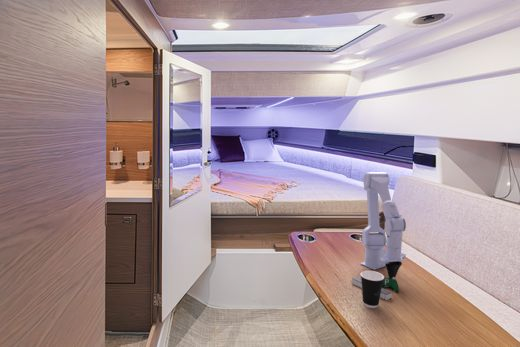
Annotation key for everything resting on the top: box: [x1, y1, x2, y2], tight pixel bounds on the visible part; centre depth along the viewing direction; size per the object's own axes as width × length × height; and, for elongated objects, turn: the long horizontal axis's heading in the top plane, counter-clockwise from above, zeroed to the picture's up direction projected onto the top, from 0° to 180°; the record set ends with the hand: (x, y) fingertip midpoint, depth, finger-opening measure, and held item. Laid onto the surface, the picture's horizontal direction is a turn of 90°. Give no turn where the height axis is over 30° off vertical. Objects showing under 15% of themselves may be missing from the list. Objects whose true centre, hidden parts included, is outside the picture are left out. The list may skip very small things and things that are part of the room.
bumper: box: [351, 276, 392, 301], centre depth 123 cm, size 3×16×2 cm, turn 33°
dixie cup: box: [360, 270, 385, 309], centre depth 112 cm, size 8×8×11 cm
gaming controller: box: [382, 276, 400, 293], centre depth 126 cm, size 9×4×6 cm
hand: (391, 278), depth 131 cm, fingers closed
